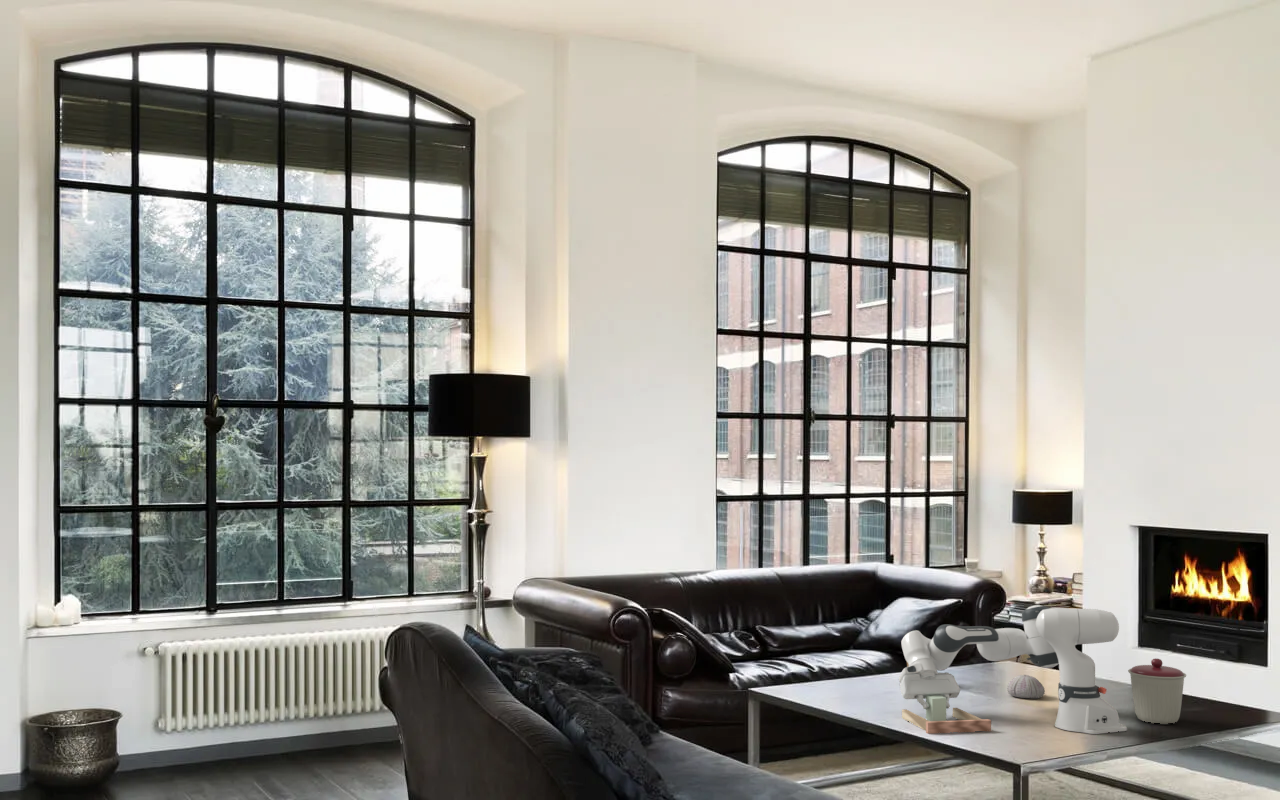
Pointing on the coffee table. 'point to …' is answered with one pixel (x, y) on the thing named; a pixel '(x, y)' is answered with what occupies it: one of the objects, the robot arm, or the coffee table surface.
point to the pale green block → (936, 708)
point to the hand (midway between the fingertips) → (937, 707)
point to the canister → (1157, 692)
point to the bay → (949, 722)
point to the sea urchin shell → (1025, 687)
